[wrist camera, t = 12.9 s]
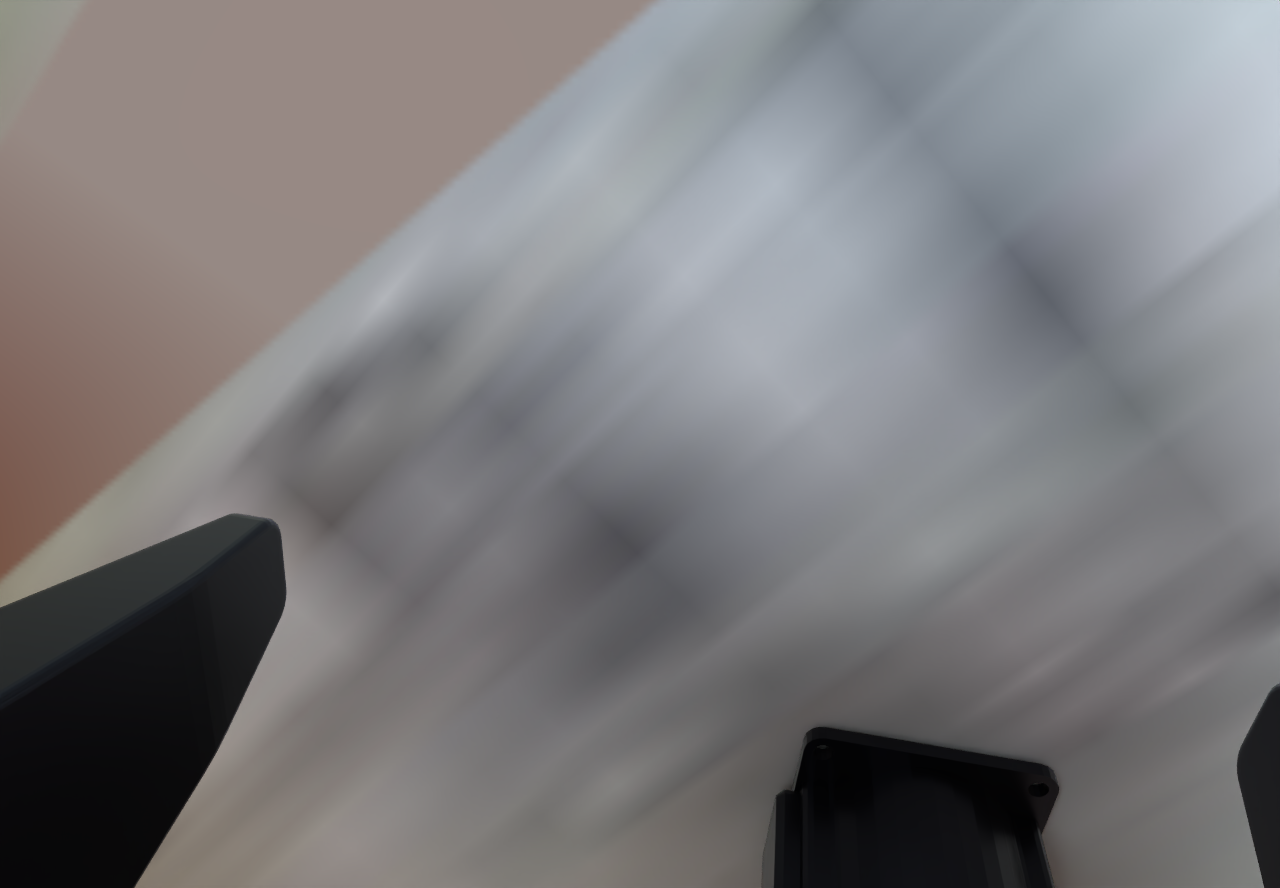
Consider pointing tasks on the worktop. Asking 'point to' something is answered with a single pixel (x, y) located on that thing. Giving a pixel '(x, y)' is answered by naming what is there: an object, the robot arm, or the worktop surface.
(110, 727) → the robot arm
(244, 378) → the worktop surface
